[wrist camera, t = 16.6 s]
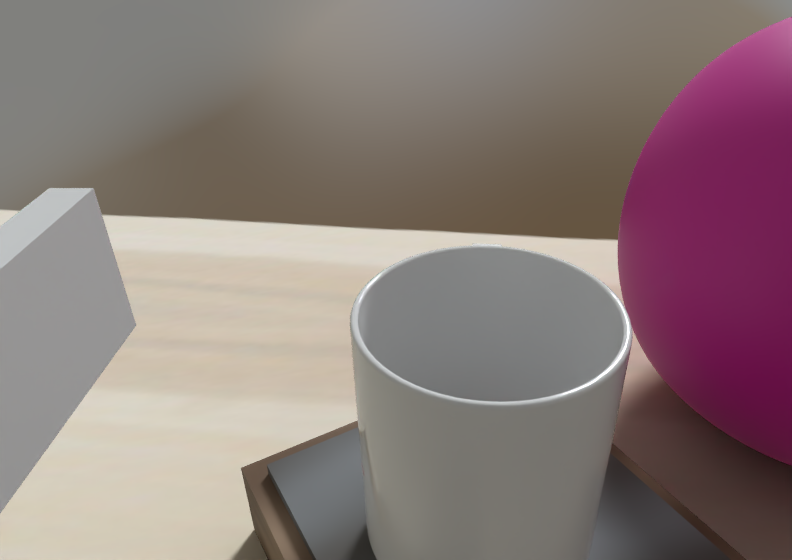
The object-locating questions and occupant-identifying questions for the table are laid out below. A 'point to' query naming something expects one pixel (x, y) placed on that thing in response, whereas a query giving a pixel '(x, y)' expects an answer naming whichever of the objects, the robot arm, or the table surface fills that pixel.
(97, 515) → the table surface
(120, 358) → the table surface
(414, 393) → the mug
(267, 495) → the walnut plinth
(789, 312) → the figurine
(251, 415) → the table surface
